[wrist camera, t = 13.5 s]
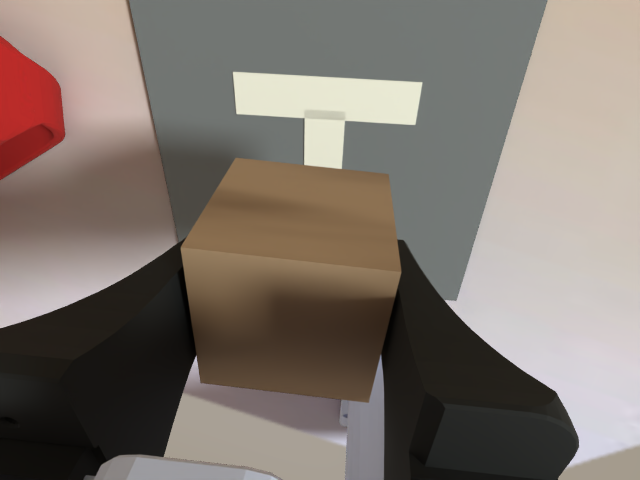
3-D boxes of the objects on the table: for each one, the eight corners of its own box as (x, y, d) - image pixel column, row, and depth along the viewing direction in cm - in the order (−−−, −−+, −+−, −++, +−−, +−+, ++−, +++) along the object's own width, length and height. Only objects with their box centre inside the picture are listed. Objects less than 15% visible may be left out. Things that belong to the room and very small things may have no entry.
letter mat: (455, 298, 24) (456, 301, 23) (187, 274, 25) (185, 277, 24) (555, -33, 15) (558, -33, 14) (121, -50, 15) (117, -50, 15)
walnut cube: (366, 288, 16) (368, 403, 12) (240, 275, 16) (200, 382, 12) (388, 173, 13) (401, 272, 9) (235, 157, 13) (180, 247, 9)
